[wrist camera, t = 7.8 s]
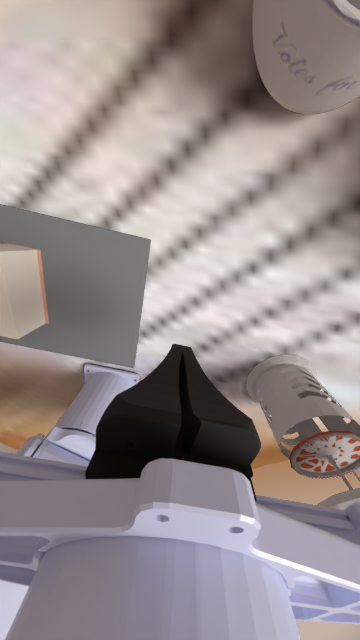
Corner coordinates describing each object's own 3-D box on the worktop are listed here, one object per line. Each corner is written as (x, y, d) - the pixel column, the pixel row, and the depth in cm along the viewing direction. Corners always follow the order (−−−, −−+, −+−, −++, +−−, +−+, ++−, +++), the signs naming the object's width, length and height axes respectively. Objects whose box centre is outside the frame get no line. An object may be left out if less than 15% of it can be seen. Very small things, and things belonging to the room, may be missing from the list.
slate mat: (134, 366, 25) (133, 368, 25) (-23, 335, 24) (-26, 336, 24) (151, 239, 18) (150, 239, 18) (-68, 188, 17) (-75, 187, 17)
